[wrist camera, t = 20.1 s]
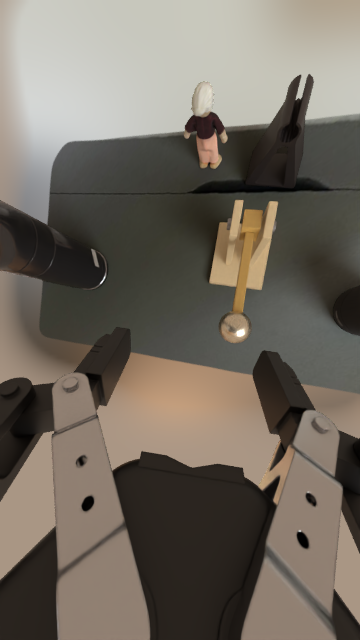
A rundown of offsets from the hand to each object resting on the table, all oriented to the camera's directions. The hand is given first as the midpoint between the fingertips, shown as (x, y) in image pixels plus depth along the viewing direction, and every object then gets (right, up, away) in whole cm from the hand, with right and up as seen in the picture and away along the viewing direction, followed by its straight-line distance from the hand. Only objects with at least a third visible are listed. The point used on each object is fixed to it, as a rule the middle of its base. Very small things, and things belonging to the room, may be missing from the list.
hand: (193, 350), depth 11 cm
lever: (+7, +7, +13) cm, 16 cm away
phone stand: (+17, +31, +24) cm, 43 cm away
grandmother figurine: (+5, +35, +27) cm, 44 cm away
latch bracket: (+11, +15, +26) cm, 32 cm away
